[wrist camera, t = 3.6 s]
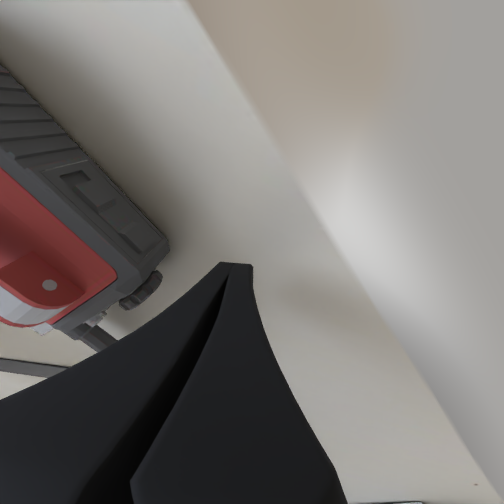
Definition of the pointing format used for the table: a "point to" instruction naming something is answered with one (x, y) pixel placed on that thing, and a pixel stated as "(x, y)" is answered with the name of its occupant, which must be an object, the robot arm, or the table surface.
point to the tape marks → (30, 368)
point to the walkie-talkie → (65, 230)
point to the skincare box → (411, 503)
